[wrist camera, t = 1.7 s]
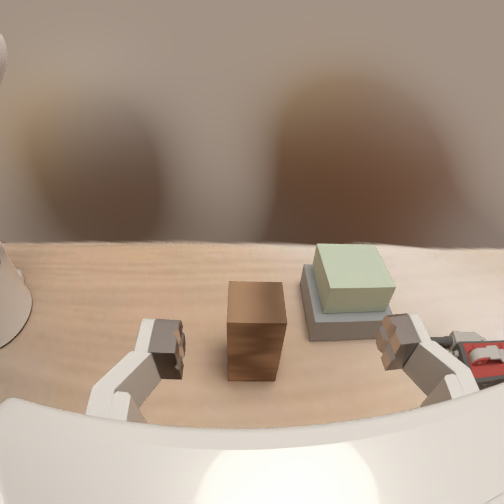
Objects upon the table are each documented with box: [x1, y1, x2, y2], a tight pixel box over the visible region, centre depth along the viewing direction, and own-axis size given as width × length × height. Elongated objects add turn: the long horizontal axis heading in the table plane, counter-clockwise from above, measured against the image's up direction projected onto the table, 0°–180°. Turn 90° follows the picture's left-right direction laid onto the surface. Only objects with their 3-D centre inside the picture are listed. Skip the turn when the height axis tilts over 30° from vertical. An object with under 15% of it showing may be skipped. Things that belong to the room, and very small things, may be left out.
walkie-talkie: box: [430, 331, 504, 390], centre depth 32 cm, size 9×4×20 cm
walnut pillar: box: [227, 281, 287, 381], centre depth 31 cm, size 5×5×10 cm
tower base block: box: [300, 264, 393, 341], centre depth 40 cm, size 10×10×4 cm
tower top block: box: [312, 244, 396, 313], centre depth 38 cm, size 8×8×4 cm
